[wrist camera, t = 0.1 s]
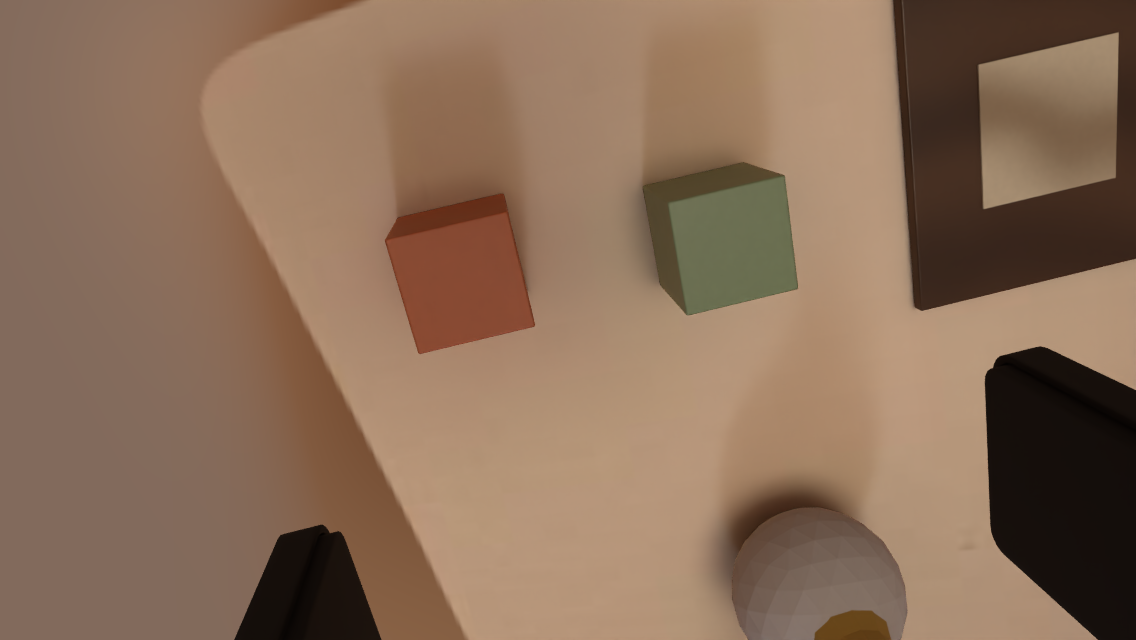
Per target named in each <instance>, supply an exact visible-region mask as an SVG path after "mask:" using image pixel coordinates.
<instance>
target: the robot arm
mask: <svg viewBox="0 0 1136 640" xmlns="http://www.w3.org/2000/svg"><path fill="white" fill-rule="evenodd" d="M985 397H986V422H987V448H988V474H989V499H990V525H991V532H992V535H993V538H994V540H995V543H996V545H997V546H998V548H999V549H1000V551H1001V552H1002V553H1003V554H1004V555H1005V556H1006V557H1007V558H1008V559H1010V560H1011V561H1012V562H1013V563H1014V564H1015V565H1016V566H1017V567H1018V568H1019V569H1021V570H1022V571H1023V572H1024V573H1025V574H1026V575H1027V576H1028V577H1029V578H1030V579H1032V580H1033V581H1034V582H1035V583H1036V584H1037V585H1038V586H1039V587H1040V588H1042V589H1043V590H1044V591H1045V592H1046V593H1047V594H1048V595H1049V596H1050V597H1051V598H1053V599H1054V600H1055V601H1056V602H1057V603H1058V604H1059V605H1060V606H1061V607H1062V608H1064V609H1065V610H1066V611H1067V612H1068V613H1069V614H1070V615H1071V616H1072V617H1074V618H1075V619H1076V620H1077V621H1078V622H1079V623H1080V624H1081V625H1082V626H1083V627H1085V628H1086V629H1087V630H1088V631H1089V632H1090V633H1091V634H1092V635H1093V636H1095V637H1096V638H1097V639H1098V640H1136V390H1134V389H1132V388H1130V387H1128V386H1126V385H1124V384H1122V383H1119V382H1117V381H1115V380H1113V379H1111V378H1109V377H1107V376H1105V375H1103V374H1101V373H1098V372H1096V371H1094V370H1092V369H1090V368H1088V367H1086V366H1084V365H1082V364H1079V363H1077V362H1075V361H1073V360H1071V359H1069V358H1067V357H1065V356H1063V355H1061V354H1058V353H1056V352H1054V351H1052V350H1050V349H1048V348H1045V347H1041V346H1040V347H1035V348H1031V349H1027V350H1023V351H1019V352H1015V353H1011V354H1007V355H1003V356H1000V357H998V358H997V359H996V361H995V363H994V366H993V368H992V369H990V370H988V371H987V373H986V376H985ZM234 640H381V638H380V635H379V632H378V629H377V626H376V624H375V621H374V618H373V615H372V613H371V610H370V607H369V604H368V602H367V599H366V596H365V594H364V590H363V588H362V585H361V582H360V579H359V577H358V574H357V571H356V568H355V566H354V563H353V560H352V557H351V555H350V552H349V549H348V546H347V544H346V541H345V539H344V536H343V535H342V533H341V532H339V531H338V532H333V533H329V531H328V529H327V528H326V527H325V526H324V525H318V526H314V527H310V528H306V529H302V530H298V531H294V532H290V533H286V534H283V535H280V537H279V538H278V540H277V542H276V545H275V547H274V549H273V552H272V554H271V556H270V558H269V561H268V563H267V565H266V568H265V570H264V572H263V575H262V577H261V579H260V582H259V584H258V586H257V588H256V591H255V593H254V595H253V598H252V600H251V602H250V605H249V607H248V609H247V612H246V614H245V616H244V619H243V621H242V623H241V626H240V628H239V630H238V632H237V635H236V637H235V639H234Z"/></svg>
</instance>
